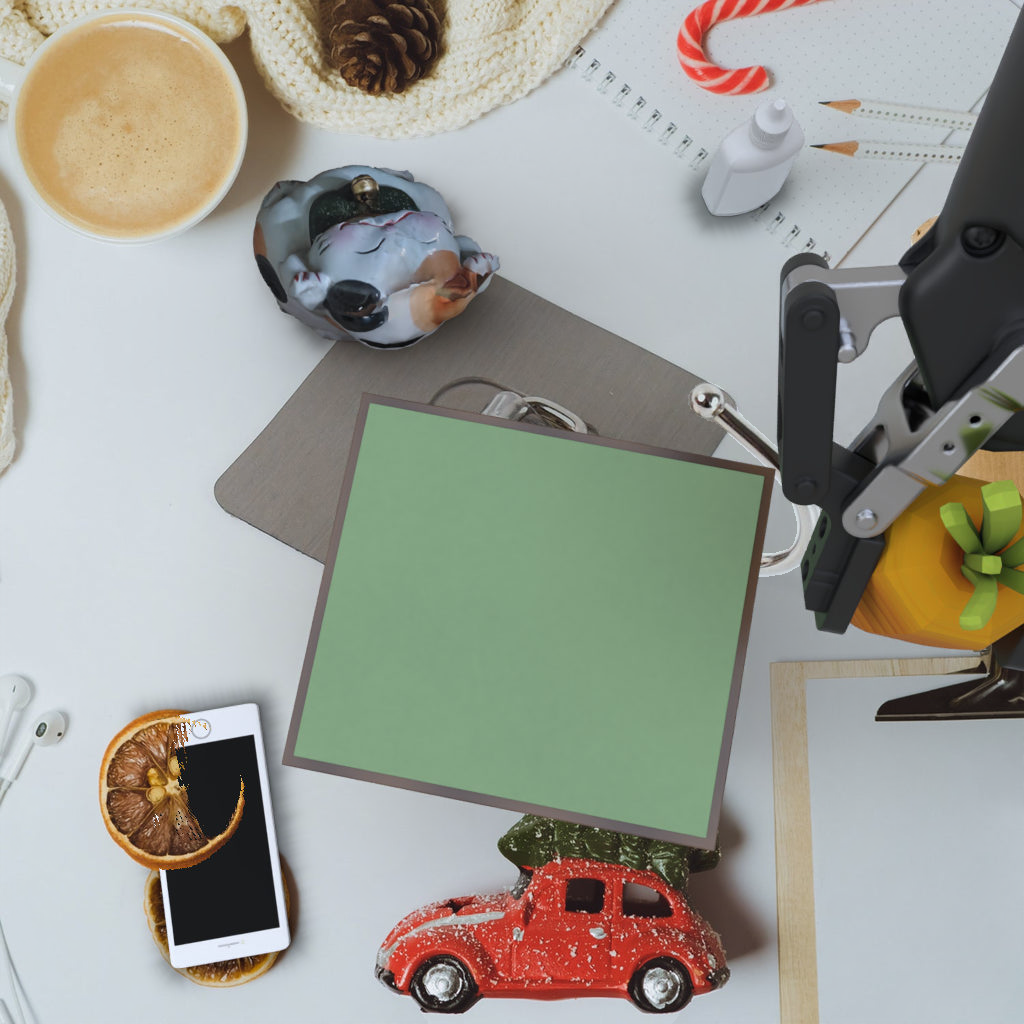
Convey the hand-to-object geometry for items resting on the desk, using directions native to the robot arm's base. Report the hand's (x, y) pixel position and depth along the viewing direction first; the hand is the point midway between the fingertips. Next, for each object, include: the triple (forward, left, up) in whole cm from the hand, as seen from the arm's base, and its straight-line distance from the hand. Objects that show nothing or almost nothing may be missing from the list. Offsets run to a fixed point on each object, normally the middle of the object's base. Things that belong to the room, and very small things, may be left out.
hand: (916, 629), depth 31 cm
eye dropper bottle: (+2, -33, -41) cm, 52 cm away
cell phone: (+29, +18, -41) cm, 53 cm away
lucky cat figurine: (+26, -22, -41) cm, 53 cm away
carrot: (0, -2, -8) cm, 8 cm away
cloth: (+11, +1, -13) cm, 17 cm away
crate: (+11, +1, -41) cm, 42 cm away
